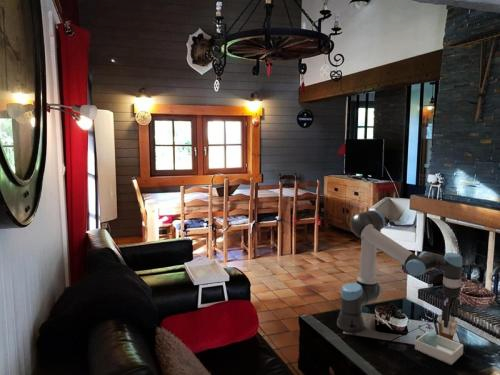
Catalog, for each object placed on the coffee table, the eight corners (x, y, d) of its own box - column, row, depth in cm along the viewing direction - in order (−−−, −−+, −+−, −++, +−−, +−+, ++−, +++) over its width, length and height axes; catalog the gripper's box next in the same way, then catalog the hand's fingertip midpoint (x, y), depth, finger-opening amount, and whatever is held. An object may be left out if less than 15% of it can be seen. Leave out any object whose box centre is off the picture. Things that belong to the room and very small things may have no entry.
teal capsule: (424, 347, 196) (424, 334, 195) (428, 343, 199) (429, 331, 198) (434, 351, 192) (435, 338, 191) (438, 347, 195) (439, 334, 194)
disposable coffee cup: (458, 345, 199) (460, 323, 197) (438, 343, 201) (439, 321, 199) (452, 335, 208) (454, 314, 206) (433, 334, 210) (435, 313, 208)
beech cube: (441, 331, 188) (442, 322, 188) (445, 328, 191) (446, 318, 191) (452, 335, 184) (452, 325, 184) (456, 332, 188) (457, 322, 187)
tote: (414, 349, 195) (415, 340, 194) (427, 340, 204) (427, 331, 203) (451, 365, 182) (452, 355, 181) (462, 354, 191) (463, 344, 190)
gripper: (452, 293, 176) (448, 340, 179) (467, 283, 188) (464, 327, 191) (435, 288, 182) (432, 334, 185) (451, 278, 193) (448, 322, 197)
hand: (448, 331), depth 188 cm, fingers closed on beech cube, 5 cm apart
